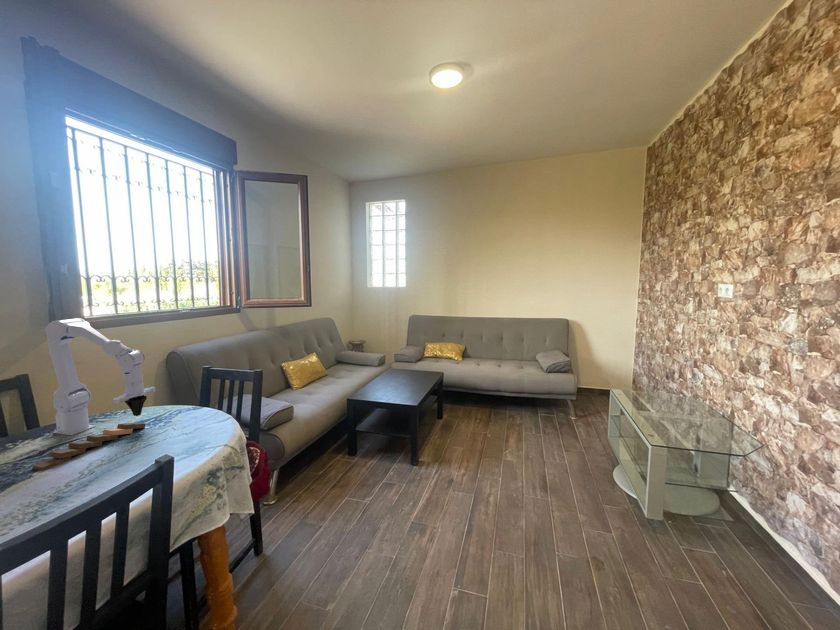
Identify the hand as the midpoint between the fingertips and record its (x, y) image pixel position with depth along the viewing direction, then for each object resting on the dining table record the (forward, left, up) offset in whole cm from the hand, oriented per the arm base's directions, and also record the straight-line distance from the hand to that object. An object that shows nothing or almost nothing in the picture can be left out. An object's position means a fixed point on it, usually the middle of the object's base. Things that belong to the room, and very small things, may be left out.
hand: (137, 415), depth 133 cm
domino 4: (0, -9, -4) cm, 10 cm away
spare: (0, -4, -4) cm, 6 cm away
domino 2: (0, -19, -4) cm, 20 cm away
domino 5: (0, +1, -4) cm, 4 cm away
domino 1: (0, -23, -5) cm, 24 cm away
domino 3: (0, -14, -4) cm, 15 cm away
